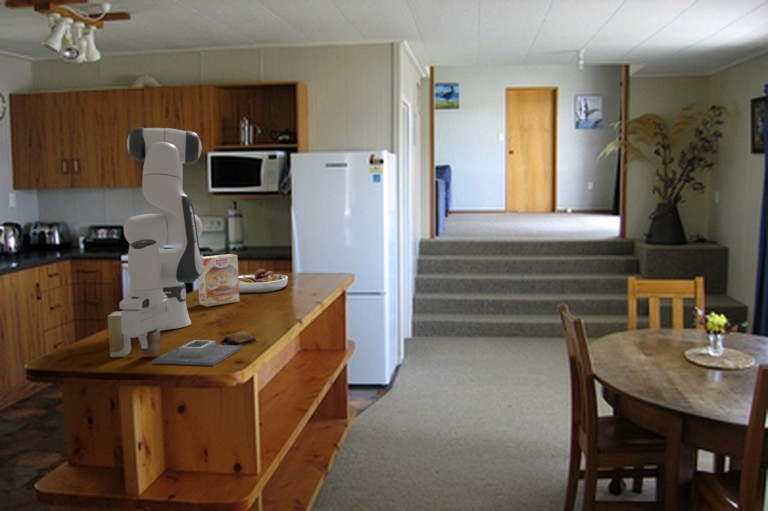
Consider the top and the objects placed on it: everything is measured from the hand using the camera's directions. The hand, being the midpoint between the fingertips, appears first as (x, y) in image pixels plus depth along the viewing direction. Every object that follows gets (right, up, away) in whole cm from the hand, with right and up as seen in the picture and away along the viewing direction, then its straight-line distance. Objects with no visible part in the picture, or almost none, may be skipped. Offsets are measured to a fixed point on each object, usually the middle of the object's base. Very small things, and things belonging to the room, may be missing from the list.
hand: (149, 345), depth 190 cm
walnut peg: (0, -2, 0) cm, 2 cm away
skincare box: (-10, -3, +4) cm, 11 cm away
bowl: (+7, +10, +121) cm, 121 cm away
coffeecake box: (-1, +6, +85) cm, 85 cm away
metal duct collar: (+14, -3, 0) cm, 14 cm away
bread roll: (+22, -2, +17) cm, 27 cm away
